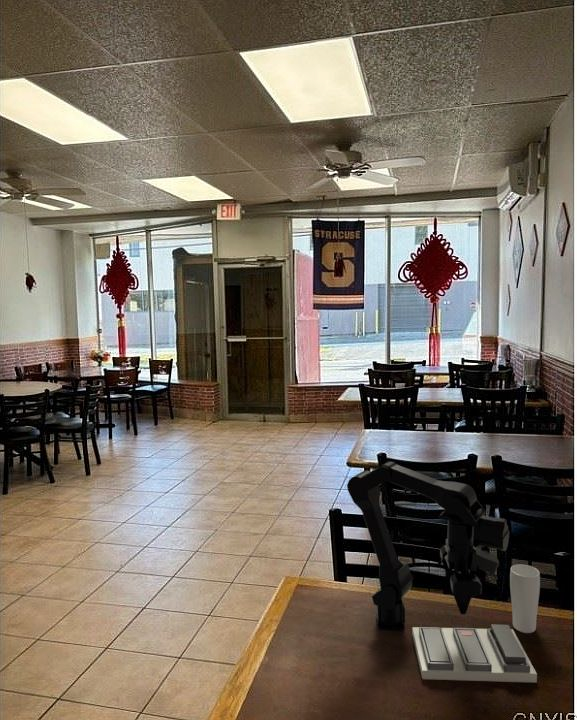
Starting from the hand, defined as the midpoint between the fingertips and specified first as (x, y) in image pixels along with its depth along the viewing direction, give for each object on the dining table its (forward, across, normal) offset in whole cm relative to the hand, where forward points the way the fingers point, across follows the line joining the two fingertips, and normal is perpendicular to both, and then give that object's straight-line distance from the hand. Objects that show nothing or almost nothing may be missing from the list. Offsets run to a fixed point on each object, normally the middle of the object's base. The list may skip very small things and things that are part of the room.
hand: (459, 602), depth 129 cm
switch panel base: (+11, -4, -2) cm, 12 cm away
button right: (+7, -5, -10) cm, 13 cm away
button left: (+9, -5, +6) cm, 12 cm away
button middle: (+9, -5, -2) cm, 10 cm away
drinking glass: (+11, +8, -18) cm, 22 cm away
